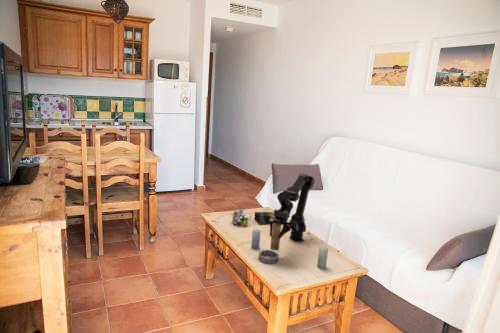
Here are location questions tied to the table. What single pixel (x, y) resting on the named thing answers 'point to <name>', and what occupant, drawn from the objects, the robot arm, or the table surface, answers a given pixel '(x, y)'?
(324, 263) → the grey-green peg
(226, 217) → the table surface
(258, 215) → the dark olive boxy piece
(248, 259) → the table surface
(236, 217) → the green succulent plant
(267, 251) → the steel ring
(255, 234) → the slate-blue peg
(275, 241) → the walnut peg
